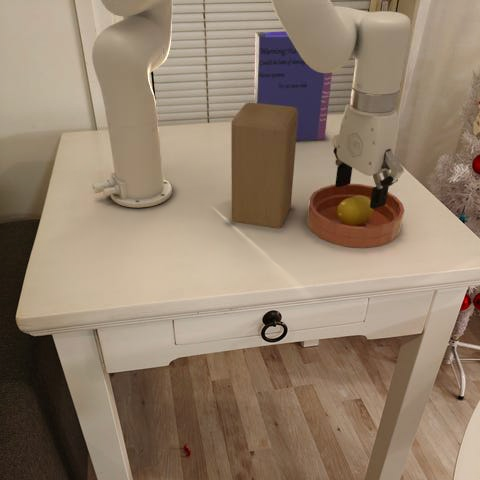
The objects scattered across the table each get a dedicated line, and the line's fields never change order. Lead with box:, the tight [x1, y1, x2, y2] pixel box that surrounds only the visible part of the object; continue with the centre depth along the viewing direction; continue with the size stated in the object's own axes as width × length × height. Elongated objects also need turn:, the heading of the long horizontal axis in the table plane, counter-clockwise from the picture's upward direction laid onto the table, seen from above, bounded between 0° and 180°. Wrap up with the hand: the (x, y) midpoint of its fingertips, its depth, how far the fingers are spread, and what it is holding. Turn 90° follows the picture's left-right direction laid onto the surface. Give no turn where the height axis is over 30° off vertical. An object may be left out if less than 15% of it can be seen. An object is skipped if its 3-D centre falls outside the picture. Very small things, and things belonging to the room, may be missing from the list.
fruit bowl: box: [306, 183, 405, 249], centre depth 101 cm, size 17×17×4 cm
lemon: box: [337, 195, 373, 226], centre depth 100 cm, size 8×5×5 cm
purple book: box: [253, 30, 333, 142], centre depth 128 cm, size 17×5×24 cm, turn 98°
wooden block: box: [230, 101, 298, 229], centre depth 99 cm, size 10×10×20 cm
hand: (359, 195), depth 98 cm, fingers open, 9 cm apart
